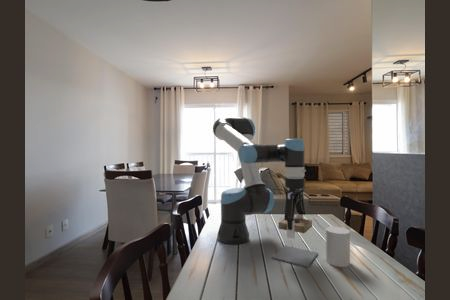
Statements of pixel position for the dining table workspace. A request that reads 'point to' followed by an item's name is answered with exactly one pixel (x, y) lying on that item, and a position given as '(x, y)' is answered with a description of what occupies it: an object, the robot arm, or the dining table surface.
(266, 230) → the dining table surface
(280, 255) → the mat
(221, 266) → the dining table surface
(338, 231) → the cup
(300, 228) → the lid
